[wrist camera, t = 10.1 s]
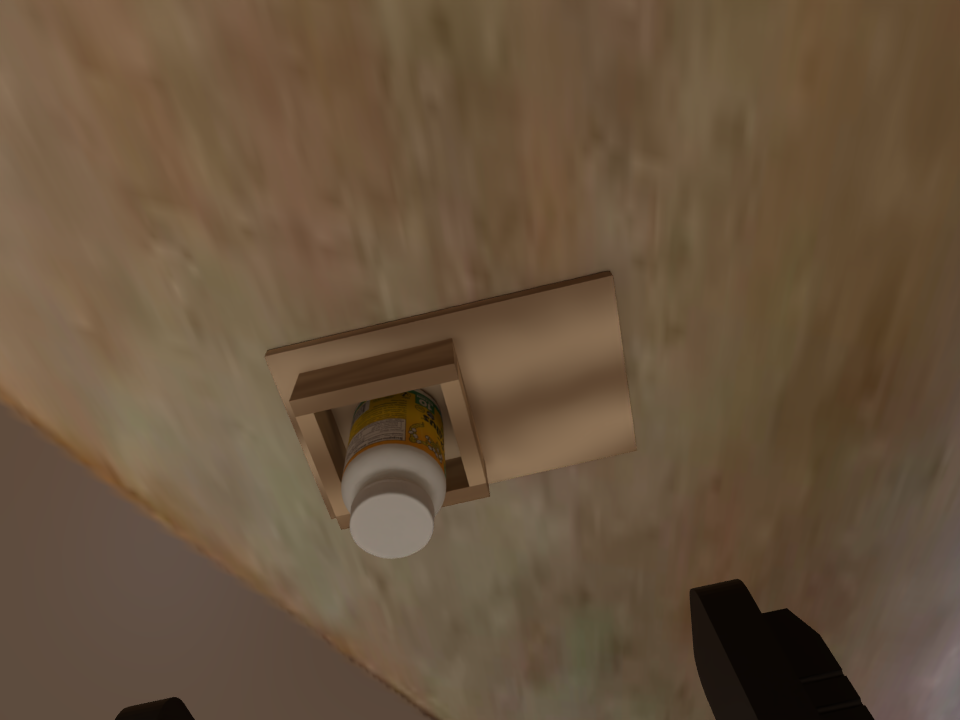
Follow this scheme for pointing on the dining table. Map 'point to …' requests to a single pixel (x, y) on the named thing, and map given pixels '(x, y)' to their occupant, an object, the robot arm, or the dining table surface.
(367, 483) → the supplement bottle
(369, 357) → the wooden stand
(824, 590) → the dining table surface
